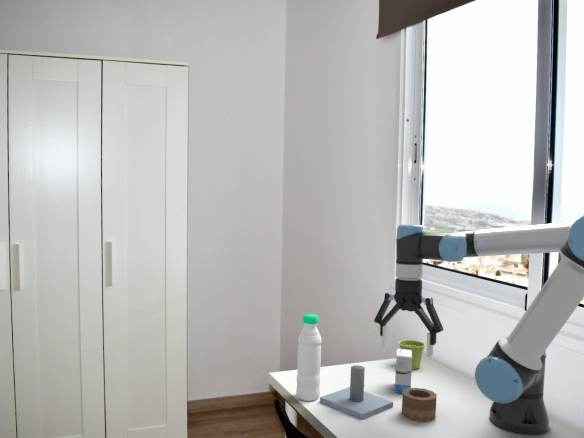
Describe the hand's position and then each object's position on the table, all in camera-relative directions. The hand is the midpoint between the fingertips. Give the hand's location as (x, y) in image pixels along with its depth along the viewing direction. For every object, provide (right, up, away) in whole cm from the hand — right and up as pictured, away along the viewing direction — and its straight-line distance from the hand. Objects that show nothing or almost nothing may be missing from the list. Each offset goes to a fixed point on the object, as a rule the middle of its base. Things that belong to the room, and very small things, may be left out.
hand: (407, 351), depth 158 cm
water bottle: (-28, -16, +7) cm, 33 cm away
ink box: (+2, -16, +17) cm, 23 cm away
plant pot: (+10, -15, +39) cm, 43 cm away
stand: (-14, -16, +2) cm, 22 cm away
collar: (+3, -17, -4) cm, 17 cm away
